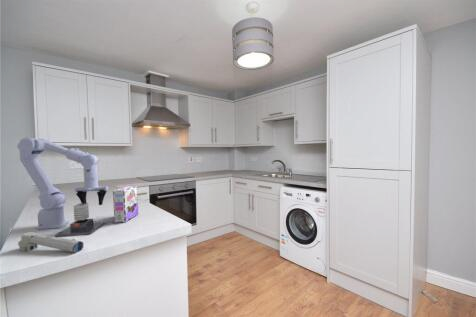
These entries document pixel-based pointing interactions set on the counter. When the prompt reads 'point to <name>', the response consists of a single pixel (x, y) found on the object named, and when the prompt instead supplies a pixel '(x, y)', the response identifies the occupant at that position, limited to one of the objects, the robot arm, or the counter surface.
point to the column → (81, 211)
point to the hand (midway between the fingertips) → (92, 205)
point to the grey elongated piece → (48, 243)
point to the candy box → (125, 204)
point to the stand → (81, 228)
